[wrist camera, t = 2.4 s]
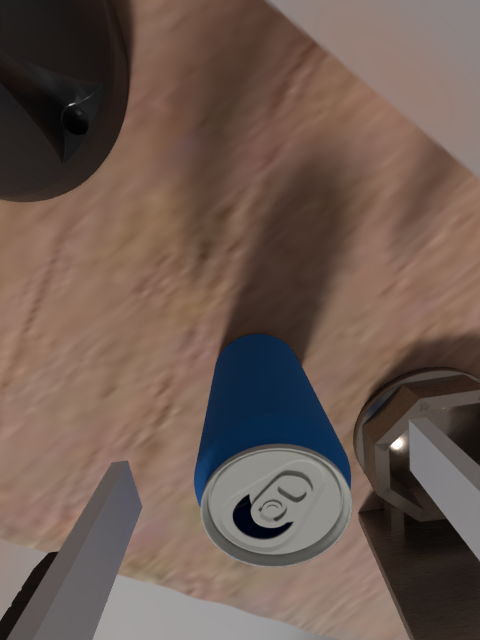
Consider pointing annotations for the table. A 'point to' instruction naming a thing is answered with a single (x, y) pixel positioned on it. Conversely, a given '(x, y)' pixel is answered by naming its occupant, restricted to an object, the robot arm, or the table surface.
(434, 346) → the table surface
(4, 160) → the robot arm
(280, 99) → the table surface
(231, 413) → the beverage can
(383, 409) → the cup bracket
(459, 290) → the table surface
